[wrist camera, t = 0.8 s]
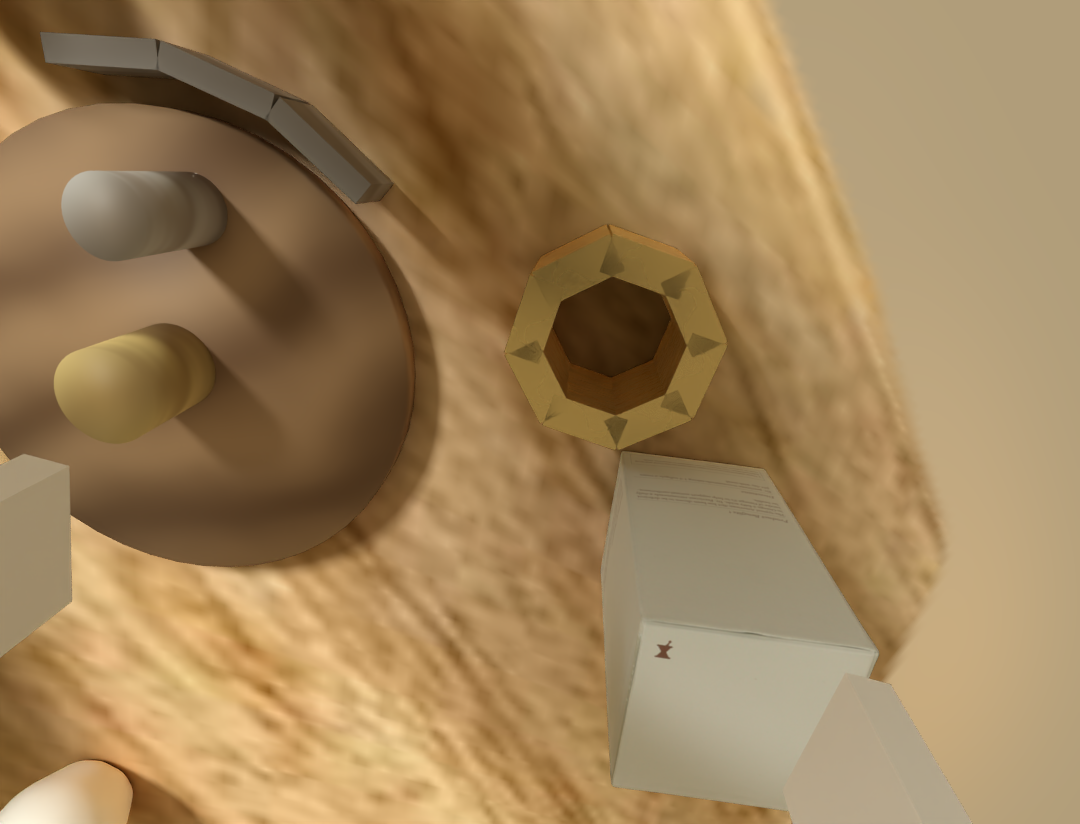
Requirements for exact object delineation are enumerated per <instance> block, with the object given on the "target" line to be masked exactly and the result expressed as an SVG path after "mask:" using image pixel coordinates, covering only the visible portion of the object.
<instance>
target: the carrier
mask: <svg viewBox="0 0 1080 824" xmlns="http://www.w3.org/2000/svg"><path fill="white" fill-rule="evenodd" d="M40 36H41V41H42V46H43V51H44V57H45V62H46V63H50V64H55V65H60V66H65V67H69V68H74V69H79V70H84V71H89V72H93V73H98V74H103V75H118V76H133V77H148V78H164V79H179V80H181V81H183V82H185V83H187V84H189V85H192V86H194V87H196V88H198V89H200V90H202V91H205V92H207V93H209V94H211V95H213V96H215V97H218V98H220V99H222V100H224V101H226V102H228V103H231V104H233V105H235V106H237V107H239V108H241V109H244V110H246V111H248V112H250V113H252V114H254V115H257V116H259V117H261V118H263V119H265V120H267V121H268V122H269V123H270V124H271V125H272V126H273V127H274V128H275V129H276V130H277V131H279V132H280V133H281V134H282V135H283V136H284V137H285V138H286V139H287V140H288V141H289V142H290V143H291V144H292V145H293V146H294V147H296V148H297V149H298V150H299V151H300V152H301V153H302V154H303V155H304V156H305V157H306V158H307V159H308V160H309V161H310V162H312V163H313V164H314V165H315V166H316V167H317V168H318V169H319V170H320V171H321V172H322V173H323V174H324V175H325V176H326V177H327V178H329V179H330V180H331V181H332V182H333V183H334V184H335V185H336V186H337V187H338V188H339V189H340V190H341V191H342V192H343V193H345V194H346V195H347V196H348V197H349V198H350V199H351V200H352V201H353V202H354V203H355V204H359V203H367V202H376V201H380V200H381V199H382V197H383V196H384V195H385V194H386V192H387V191H388V190H389V189H390V188H391V186H392V185H393V184H394V183H393V182H392V181H391V180H390V179H389V178H388V177H387V176H386V175H385V174H384V173H383V172H382V171H380V170H379V169H378V168H377V167H376V166H375V165H374V164H373V163H372V162H371V161H370V160H369V159H368V158H367V157H366V156H365V155H364V154H363V153H362V152H361V151H360V150H359V149H358V148H357V147H356V146H354V145H353V144H352V143H351V142H350V141H349V140H348V139H347V138H346V137H345V136H344V135H343V134H342V133H341V132H340V131H339V130H338V129H337V128H336V127H335V126H334V125H333V124H332V123H331V122H330V121H329V120H327V119H326V118H325V117H324V116H323V115H322V114H321V113H320V112H319V111H318V110H317V109H316V108H315V107H314V106H313V105H309V104H308V102H306V101H304V100H302V99H300V98H298V97H296V96H294V95H291V94H289V93H287V92H285V91H283V90H281V89H279V88H276V87H274V86H272V85H270V84H268V83H266V82H264V81H261V80H259V79H257V78H255V77H253V76H251V75H249V74H246V73H244V72H242V71H240V70H238V69H236V68H234V67H232V66H229V65H227V64H225V63H223V62H221V61H219V60H217V59H214V58H212V57H210V56H208V55H205V54H202V53H199V52H196V51H192V50H189V49H186V48H183V47H180V46H176V45H173V44H170V43H167V42H164V41H160V40H156V39H146V38H130V37H114V36H98V35H82V34H66V33H50V32H40ZM414 391H415V363H414V350H413V343H412V338H411V333H410V328H409V323H408V319H407V315H406V312H405V309H404V306H403V303H402V300H401V297H400V294H399V291H398V288H397V286H396V284H395V282H394V280H393V277H392V275H391V273H390V271H389V269H388V267H387V265H386V263H385V261H384V259H383V257H382V255H381V253H380V252H379V250H378V249H377V247H376V246H375V244H374V242H373V241H372V239H371V238H370V236H369V235H368V233H367V231H366V230H365V228H364V227H363V226H362V224H361V223H360V222H359V221H358V220H357V218H356V217H355V216H354V215H353V213H352V212H351V211H350V210H349V208H348V207H347V206H346V205H345V204H344V202H343V201H342V200H341V199H340V198H339V197H338V196H337V195H336V194H335V193H334V192H333V191H332V190H331V189H330V188H329V187H328V186H327V185H326V184H325V183H324V182H323V181H322V180H321V179H320V178H318V177H317V176H316V175H315V174H314V173H313V172H311V171H310V170H309V169H307V168H306V167H305V166H303V165H302V164H301V163H300V162H298V161H297V160H296V159H294V158H293V157H292V156H290V155H289V154H288V153H286V152H285V151H283V150H281V149H279V148H278V147H276V146H274V145H273V144H271V143H269V142H268V141H266V140H264V139H263V138H261V137H259V136H257V135H255V134H253V133H251V132H248V131H246V130H244V129H242V128H239V127H237V126H235V125H232V124H230V123H228V122H225V121H222V120H219V119H215V118H212V117H208V116H205V115H201V114H198V113H194V112H191V111H184V110H178V109H172V108H165V107H158V106H151V105H144V104H137V103H100V104H94V105H88V106H82V107H76V108H70V109H66V110H63V111H60V112H57V113H55V114H52V115H49V116H46V117H43V118H40V119H38V120H36V121H34V122H32V123H31V124H29V125H27V126H25V127H23V128H22V129H20V130H18V131H16V132H14V133H13V134H11V135H10V136H9V137H8V138H6V139H5V140H4V141H3V142H2V143H0V448H1V449H2V451H3V452H4V453H5V455H6V456H7V457H8V458H9V459H10V460H12V459H14V458H16V457H18V456H20V455H23V454H27V455H30V456H34V457H38V458H42V459H45V460H49V461H53V462H57V463H60V464H64V465H68V466H69V473H70V515H72V516H73V517H75V518H76V519H78V520H80V521H81V522H83V523H85V524H86V525H88V526H89V527H91V528H93V529H94V530H96V531H97V532H99V533H101V534H103V535H106V536H108V537H110V538H112V539H114V540H116V541H118V542H120V543H122V544H124V545H126V546H129V547H132V548H134V549H137V550H140V551H142V552H145V553H148V554H150V555H154V556H158V557H161V558H165V559H169V560H173V561H176V562H183V563H189V564H195V565H202V566H220V567H235V566H249V565H258V564H263V563H268V562H273V561H278V560H282V559H285V558H288V557H290V556H293V555H296V554H299V553H302V552H305V551H307V550H309V549H310V548H312V547H314V546H316V545H318V544H320V543H322V542H324V541H326V540H327V539H329V538H330V537H332V536H333V535H335V534H336V533H337V532H339V531H340V530H342V529H343V528H344V527H346V526H347V525H348V524H349V523H350V522H351V521H352V520H353V519H354V518H355V517H356V516H357V515H358V514H359V513H360V512H361V511H362V510H363V509H364V508H365V507H366V505H367V504H368V503H369V501H370V500H371V499H372V498H373V496H374V495H375V494H376V492H377V491H378V490H379V488H380V487H381V485H382V484H383V482H384V481H385V479H386V478H387V476H388V474H389V473H390V471H391V469H392V467H393V465H394V463H395V462H396V460H397V458H398V456H399V454H400V451H401V449H402V446H403V443H404V441H405V438H406V435H407V432H408V429H409V424H410V419H411V415H412V410H413V405H414Z"/></svg>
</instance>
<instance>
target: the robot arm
mask: <svg viewBox="0 0 1080 824" xmlns="http://www.w3.org/2000/svg"><path fill="white" fill-rule="evenodd" d="M71 602H72V571H71V522H70V473H69V466H68V465H64V464H60V463H57V462H53V461H49V460H45V459H42V458H38V457H34V456H30V455H27V454H23V455H20V456H18V457H16V458H14V459H12V460H10V461H7V462H5V463H3V464H1V465H0V657H2V656H3V655H4V654H6V653H7V652H8V651H9V650H11V649H12V648H13V647H14V646H16V645H17V644H18V643H20V642H21V641H22V640H23V639H25V638H26V637H27V636H29V635H30V634H31V633H32V632H34V631H35V630H36V629H37V628H39V627H40V626H41V625H43V624H44V623H45V622H46V621H48V620H49V619H50V618H51V617H53V616H54V615H55V614H57V613H58V612H59V611H60V610H62V609H63V608H64V607H65V606H67V605H68V604H69V603H71ZM782 791H783V794H784V797H785V801H786V804H787V807H788V810H789V814H790V817H791V820H792V823H793V824H973V823H972V821H971V820H970V818H969V816H968V815H967V813H966V811H965V809H964V808H963V806H962V804H961V803H960V801H959V799H958V798H957V796H956V794H955V793H954V791H953V789H952V787H951V786H950V784H949V783H948V781H947V779H946V777H945V775H944V774H943V772H942V770H941V769H940V767H939V765H938V764H937V762H936V760H935V759H934V757H933V755H932V753H931V752H930V750H929V748H928V747H927V745H926V743H925V742H924V740H923V738H922V737H921V735H920V733H919V731H918V730H917V728H916V726H915V725H914V723H913V721H912V719H911V718H910V716H909V714H908V713H907V711H906V710H905V708H904V706H903V704H902V703H901V701H900V699H899V698H898V696H897V694H896V692H895V691H894V689H893V687H892V686H891V684H888V683H884V682H880V681H877V680H873V679H869V678H865V677H862V676H858V675H854V674H850V673H846V672H845V674H844V676H843V678H842V680H841V682H840V684H839V685H838V687H837V689H836V691H835V693H834V695H833V697H832V698H831V700H830V702H829V704H828V706H827V708H826V710H825V711H824V713H823V715H822V717H821V719H820V721H819V723H818V724H817V726H816V728H815V730H814V732H813V734H812V736H811V737H810V739H809V741H808V743H807V745H806V747H805V749H804V750H803V752H802V754H801V756H800V758H799V760H798V762H797V763H796V765H795V767H794V769H793V771H792V773H791V775H790V776H789V778H788V780H787V782H786V784H785V786H784V788H783V789H782Z"/></svg>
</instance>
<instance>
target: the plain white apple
mask: <svg viewBox="0 0 1080 824" xmlns="http://www.w3.org/2000/svg"><path fill="white" fill-rule="evenodd" d="M132 798H133V790H132V786H131V784H130V782H129V780H128V779H127V777H126V776H125V775H124V773H123V772H122V771H120V770H119V769H117V768H115V767H113V766H111V765H109V764H107V763H105V762H102V761H96V760H83V761H78V762H74V763H72V764H70V765H68V766H66V767H64V768H62V769H60V770H58V771H56V772H54V773H52V774H50V775H48V776H46V777H44V778H42V779H41V780H39V781H37V782H35V783H33V784H32V785H30V786H29V787H27V788H26V789H24V790H23V791H21V792H20V793H18V794H17V795H16V796H15V797H14V798H13V799H11V801H10V802H9V803H8V804H7V805H6V806H5V807H4V808H3V809H2V810H1V811H0V824H127V821H128V816H129V812H130V808H131V803H132Z"/></svg>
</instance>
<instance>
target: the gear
mask: <svg viewBox="0 0 1080 824" xmlns="http://www.w3.org/2000/svg"><path fill="white" fill-rule="evenodd" d="M610 277H615V278H618V279H621V280H623V281H626V282H629V283H632V284H635V285H637V286H640V287H643V288H646V289H649V290H651V291H654V292H657V293H660V294H661V296H662V298H663V300H664V303H665V305H666V307H667V310H668V312H669V314H670V317H671V318H670V321H669V323H668V325H667V328H666V330H665V332H664V335H663V337H662V339H661V342H660V344H659V347H658V349H657V351H656V354H655V356H654V358H653V360H651V361H648V362H646V363H644V364H641V365H639V366H637V367H635V368H632V369H630V370H628V371H625V372H623V373H621V374H619V375H616V376H614V377H609V376H606V375H603V374H600V373H597V372H595V371H592V370H589V369H586V368H583V367H580V366H577V365H574V364H572V363H570V362H569V360H568V358H567V356H566V354H565V352H564V350H563V348H562V346H561V344H560V342H559V340H558V337H557V335H556V333H555V331H554V329H553V327H552V325H553V322H554V319H555V317H556V314H557V311H558V308H559V305H560V302H561V301H562V300H564V299H566V298H568V297H571V296H573V295H575V294H577V293H579V292H581V291H583V290H585V289H587V288H589V287H592V286H594V285H596V284H598V283H600V282H602V281H604V280H606V279H608V278H610ZM726 343H727V339H726V337H725V334H724V332H723V329H722V327H721V324H720V322H719V319H718V317H717V314H716V312H715V309H714V307H713V304H712V302H711V299H710V297H709V294H708V292H707V289H706V287H705V284H704V282H703V279H702V277H701V274H700V272H699V270H698V267H697V265H695V263H693V262H692V261H691V260H690V259H689V258H687V257H686V256H685V255H684V254H683V253H681V252H680V251H679V250H678V249H677V248H674V247H671V246H669V245H666V244H663V243H660V242H658V241H655V240H652V239H649V238H647V237H644V236H641V235H638V234H636V233H633V232H630V231H627V230H624V229H622V228H619V227H616V226H613V225H611V224H609V225H608V227H607V225H606V224H605V225H603V226H601V227H599V228H597V229H595V230H593V231H591V232H589V233H587V234H585V235H583V236H581V237H579V238H577V239H575V240H573V241H571V242H569V243H567V244H565V245H563V246H561V247H559V248H557V249H555V250H553V251H551V252H549V253H547V254H545V255H543V256H541V258H540V259H539V260H538V262H537V264H536V265H535V267H534V269H533V270H532V272H531V274H530V275H529V279H528V282H527V285H526V288H525V291H524V294H523V297H522V300H521V303H520V306H519V309H518V312H517V315H516V318H515V321H514V324H513V327H512V330H511V333H510V336H509V339H508V342H507V345H506V348H505V351H504V352H505V357H506V359H507V361H508V363H509V365H510V367H511V369H512V371H513V373H514V374H515V376H516V378H517V380H518V382H519V384H520V386H521V388H522V390H523V392H524V394H525V396H526V397H527V399H528V401H529V403H530V405H531V407H532V409H533V411H534V413H535V415H536V417H537V419H538V420H539V422H540V423H542V422H543V424H542V425H543V426H546V427H549V428H551V429H554V430H557V431H560V432H563V433H566V434H569V435H572V436H575V437H578V438H581V439H583V440H586V441H589V442H592V443H595V444H598V445H601V446H604V447H607V448H610V449H613V450H616V447H617V449H618V450H620V449H623V448H625V447H628V446H630V445H632V444H635V443H637V442H640V441H642V440H645V439H647V438H650V437H652V436H654V435H657V434H659V433H662V432H664V431H667V430H669V429H672V428H674V427H676V426H679V425H681V424H684V423H686V422H689V421H691V418H690V417H692V418H694V417H695V414H696V412H697V410H698V408H699V406H700V404H701V402H702V399H703V397H704V395H705V393H706V391H707V389H708V387H709V384H710V382H711V380H712V378H713V376H714V374H715V372H716V369H717V367H718V365H719V363H720V361H721V359H722V357H723V354H724V352H725V350H726V348H727V346H728V345H727V344H726Z"/></svg>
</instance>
